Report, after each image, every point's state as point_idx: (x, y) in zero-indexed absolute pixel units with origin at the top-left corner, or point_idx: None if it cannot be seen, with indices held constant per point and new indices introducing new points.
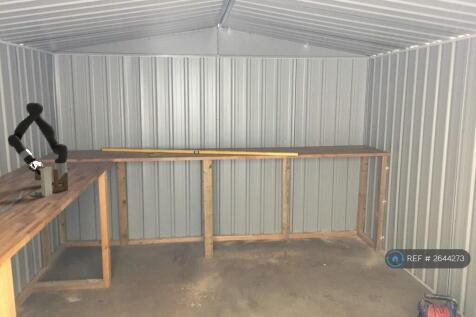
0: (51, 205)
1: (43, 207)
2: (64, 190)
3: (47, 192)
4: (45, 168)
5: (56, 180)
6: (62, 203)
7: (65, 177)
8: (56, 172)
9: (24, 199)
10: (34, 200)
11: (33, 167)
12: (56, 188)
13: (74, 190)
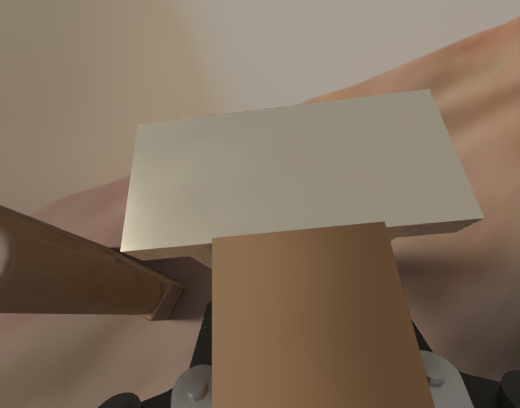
0: (449, 95)
1: (505, 100)
2: (126, 257)
3: None
4: (349, 122)
5: (123, 267)
6: (386, 79)
7: (38, 221)
8: (51, 243)
9: (468, 346)
10: (438, 251)
11: None
12: (165, 278)
13: (108, 204)
